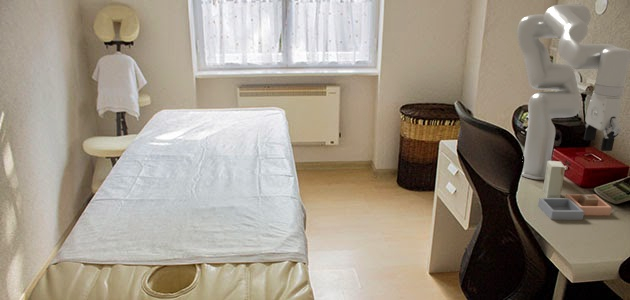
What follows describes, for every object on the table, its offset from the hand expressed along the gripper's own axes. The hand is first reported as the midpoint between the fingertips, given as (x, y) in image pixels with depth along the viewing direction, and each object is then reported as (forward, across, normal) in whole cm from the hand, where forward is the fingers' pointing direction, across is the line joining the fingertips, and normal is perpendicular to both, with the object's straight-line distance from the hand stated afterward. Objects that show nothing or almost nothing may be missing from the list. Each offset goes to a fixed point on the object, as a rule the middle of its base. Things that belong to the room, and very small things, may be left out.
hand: (597, 145), depth 153 cm
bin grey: (+22, +4, -10) cm, 24 cm away
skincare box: (+22, -9, -7) cm, 25 cm away
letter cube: (+21, +1, 0) cm, 21 cm away
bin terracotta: (+22, +1, 0) cm, 22 cm away
